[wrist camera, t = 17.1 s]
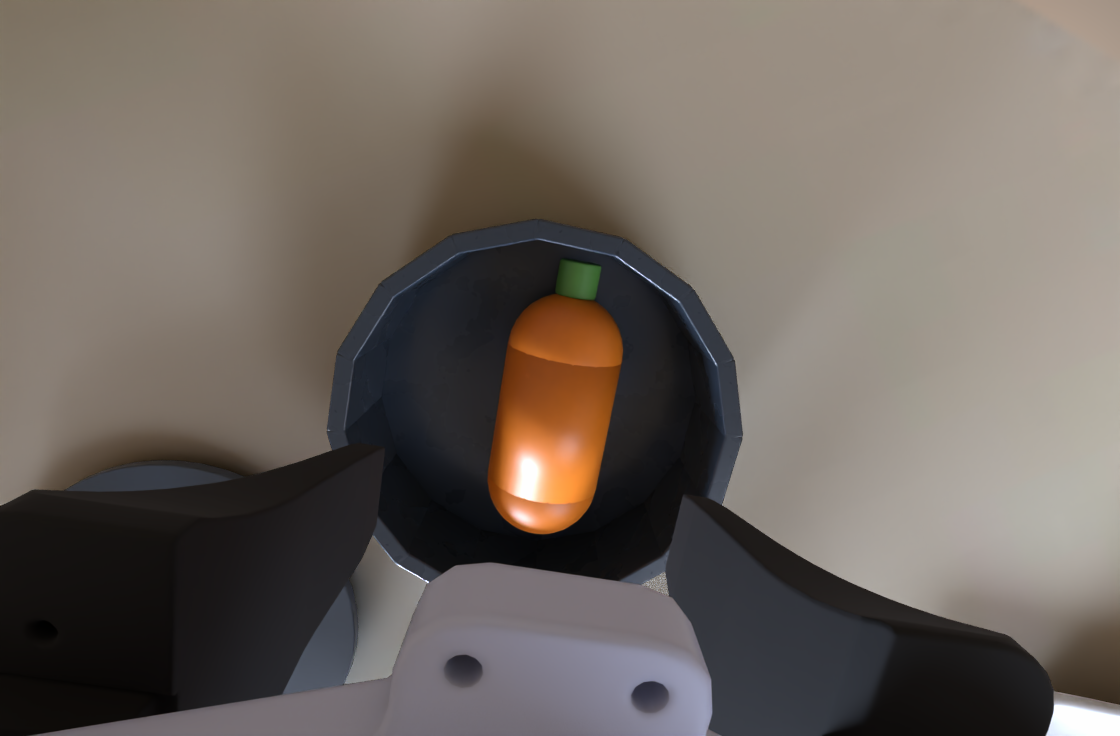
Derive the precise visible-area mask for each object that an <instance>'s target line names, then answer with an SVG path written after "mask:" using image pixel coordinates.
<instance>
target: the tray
mask: <svg viewBox="0 0 1120 736" xmlns="http://www.w3.org/2000/svg"><path fill="white" fill-rule="evenodd" d="M1046 736H1120V705H1118V704H1113V703H1109V702H1104V701H1100V700H1095V699H1090V698H1085V697H1080V696H1076V695H1071V694H1066V693H1061V692H1056V691H1054V712H1053V716H1052V719H1051V723H1050V726H1049V730H1048V732H1047V734H1046Z"/></svg>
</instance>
